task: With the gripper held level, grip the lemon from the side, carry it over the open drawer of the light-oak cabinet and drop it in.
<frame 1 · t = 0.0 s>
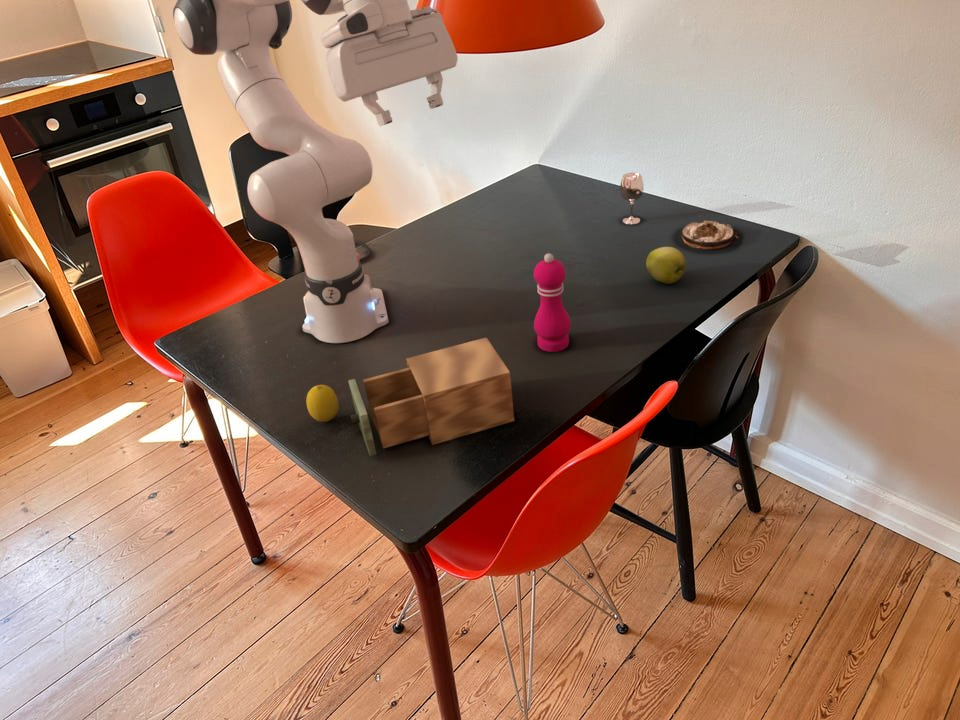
hand: (412, 115, 113), 52 cm above the table, tool tilted 20°, fingers open, 8 cm apart
mottled flat disc: (707, 240, 185), on the table
drawer: (395, 407, 132), point 5 cm above the table, slide at 9.5 cm
pepper mill: (553, 344, 154), on the table
lemon: (327, 421, 140), on the table
cabinet: (463, 413, 138), on the table
apple: (666, 282, 170), on the table
wineglass: (631, 221, 197), on the table
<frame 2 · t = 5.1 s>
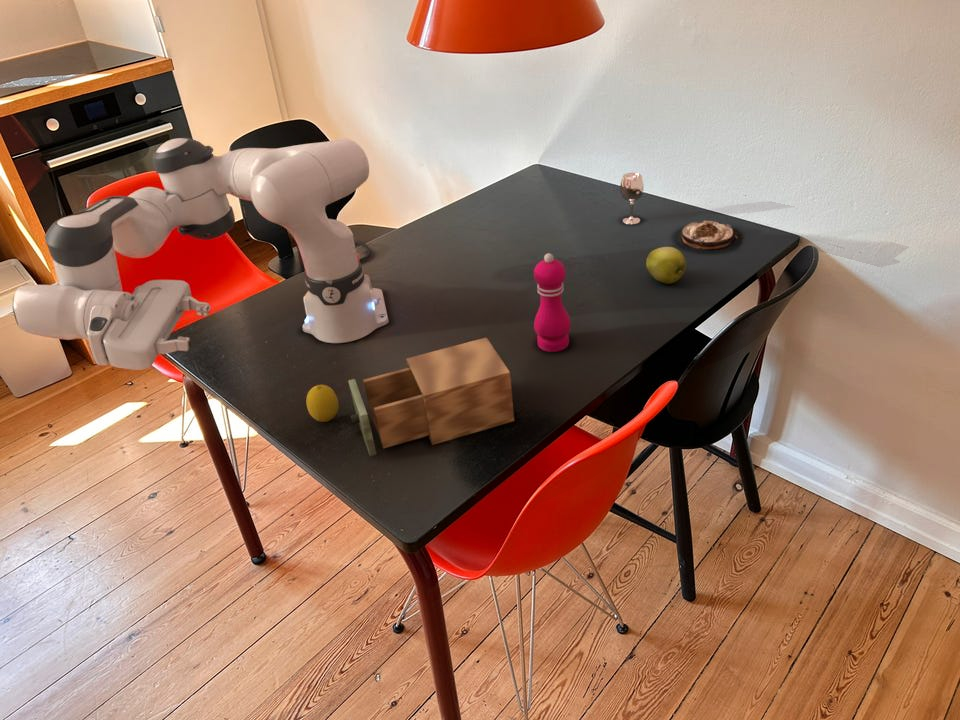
hand: (199, 326, 127), 23 cm above the table, tool horizontal, fingers open, 8 cm apart
nothing on the table moved.
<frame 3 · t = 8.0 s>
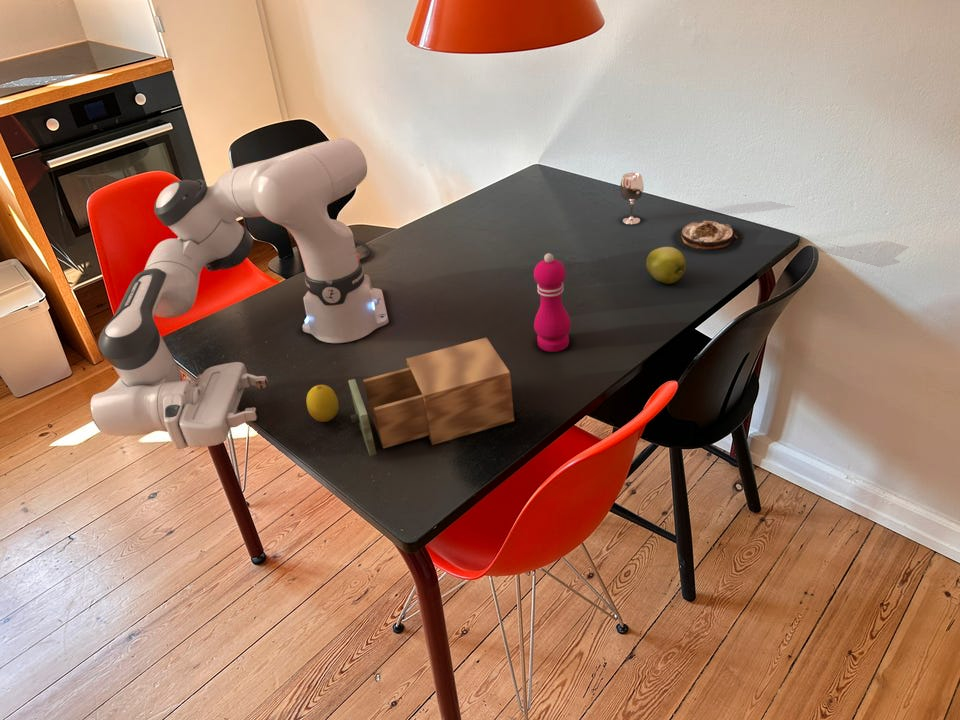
hand: (261, 397, 136), 7 cm above the table, tool horizontal, fingers open, 8 cm apart
nothing on the table moved.
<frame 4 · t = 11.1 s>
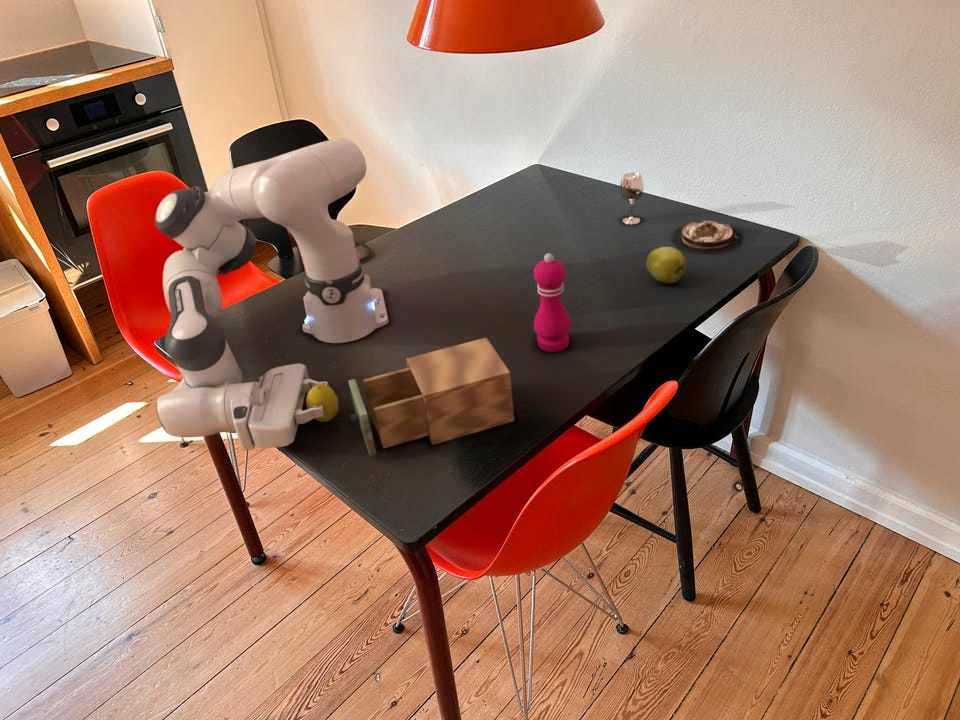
hand: (326, 398, 137), 5 cm above the table, tool horizontal, fingers closed on lemon, 5 cm apart
lemon: (327, 421, 140), on the table, touching gripper
everything else where it was.
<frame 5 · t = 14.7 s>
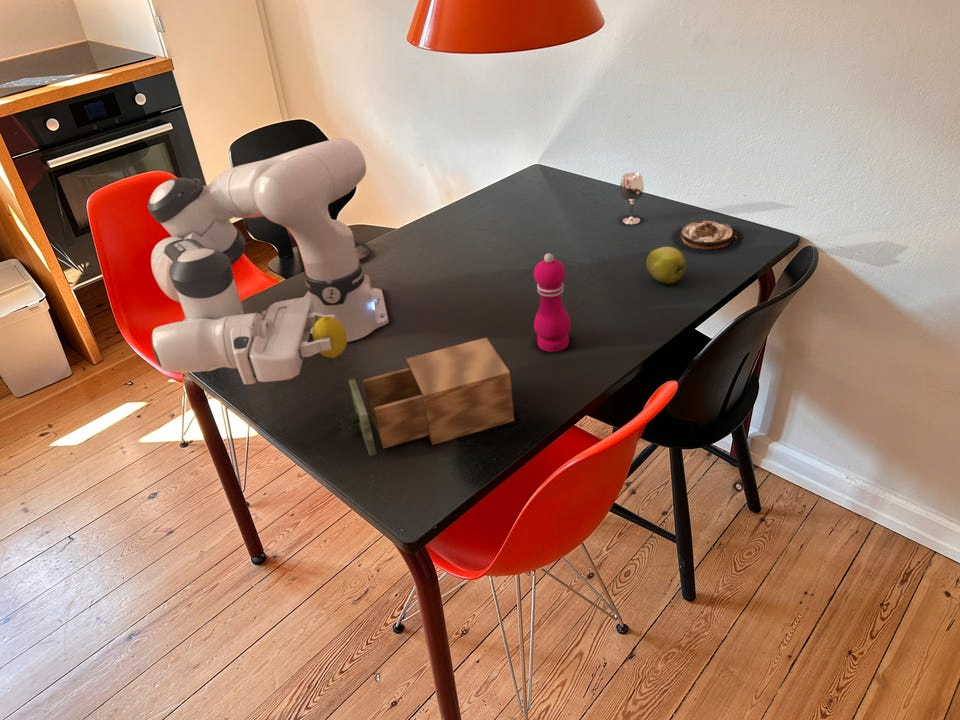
hand: (333, 331, 127), 20 cm above the table, tool horizontal, fingers closed on lemon, 5 cm apart
lemon: (334, 358, 130), point 15 cm above the table, touching gripper
everything else where it was.
when the fingers open (15 cm above the table, at t = 18.3 s): lemon drops 7 cm, resting on drawer.
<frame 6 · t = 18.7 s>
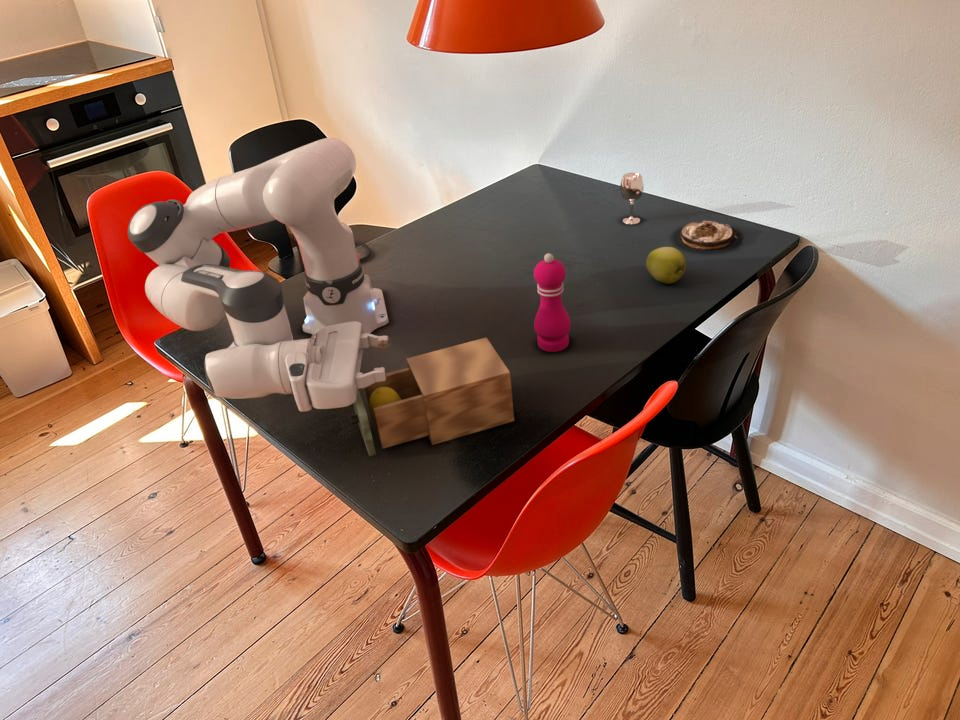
hand: (387, 357, 126), 16 cm above the table, tool horizontal, fingers open, 8 cm apart
drawer: (394, 408, 132), point 5 cm above the table, slide at 9.6 cm, touching lemon
lemon: (393, 422, 134), point 2 cm above the table, touching drawer
everything else where it was.
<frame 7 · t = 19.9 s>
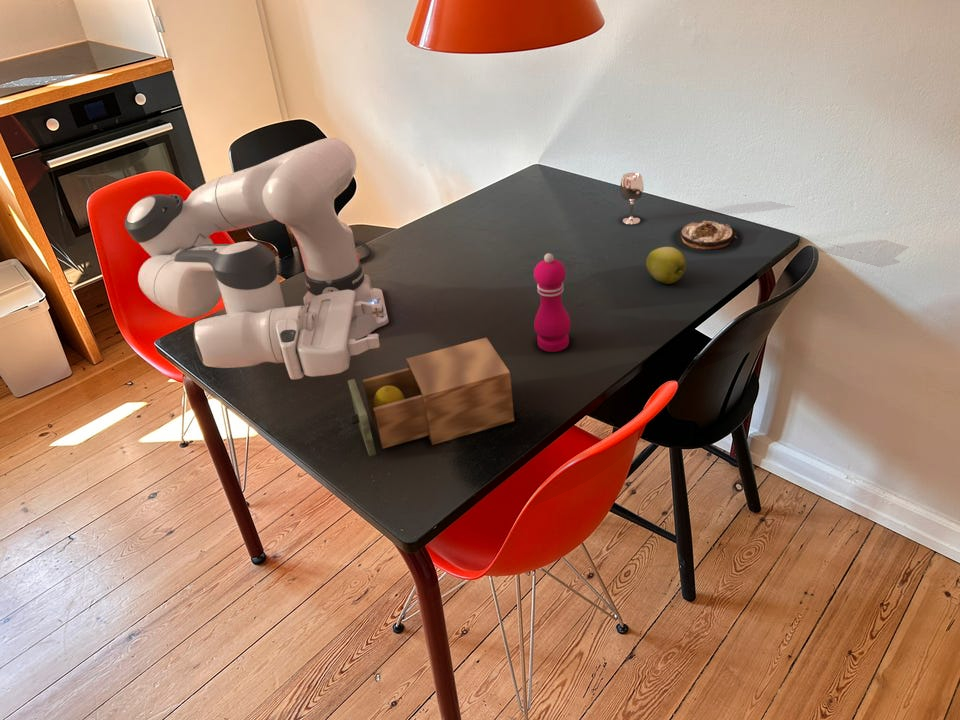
hand: (381, 324, 123), 22 cm above the table, tool horizontal, fingers open, 8 cm apart
nothing on the table moved.
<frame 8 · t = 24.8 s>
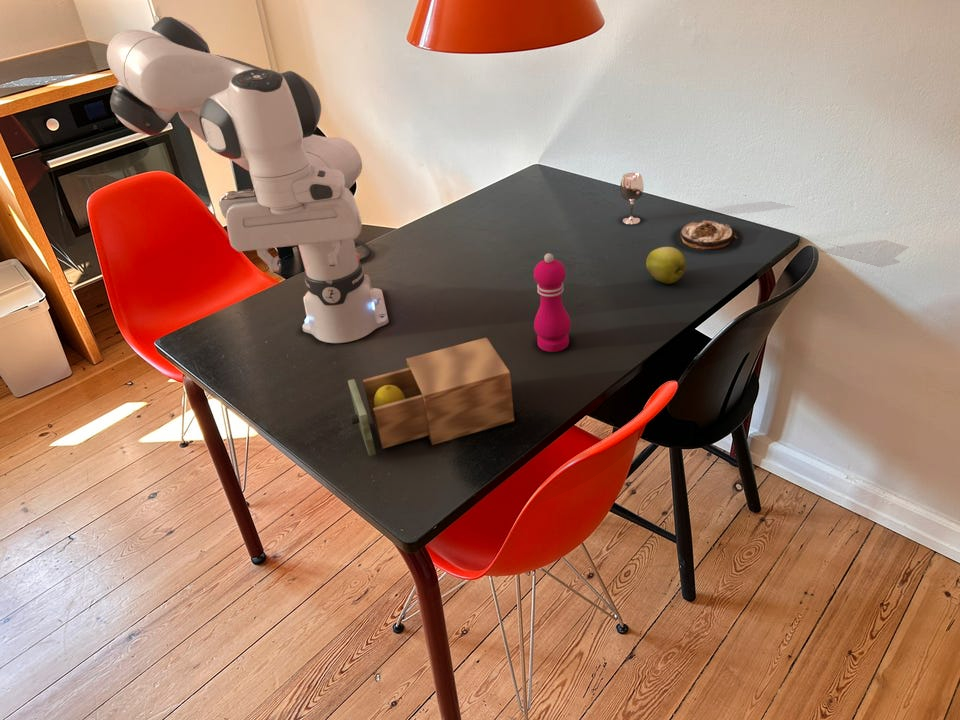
hand: (305, 267, 122), 31 cm above the table, tool pointing down, fingers open, 8 cm apart
nothing on the table moved.
at the end: lemon touching drawer; lemon point 1.8 cm above the table; lemon 12.5 cm from the cabinet (horizontally) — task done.
